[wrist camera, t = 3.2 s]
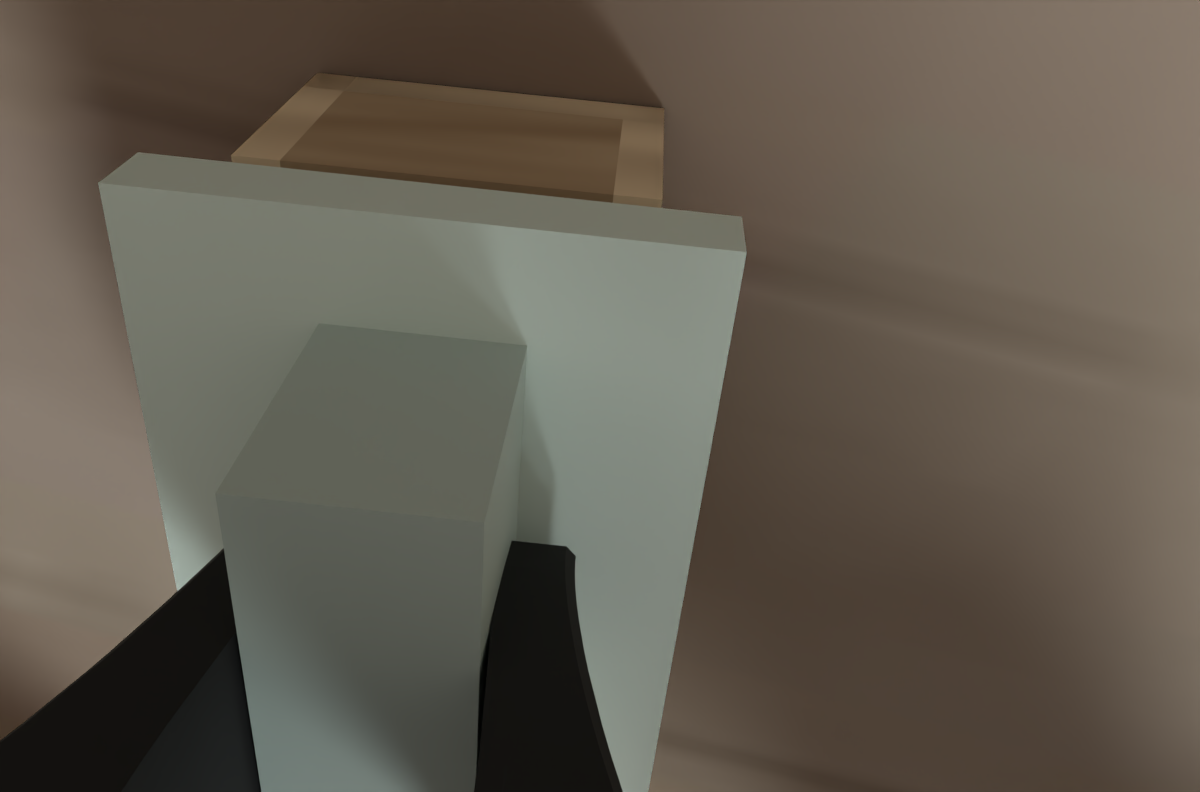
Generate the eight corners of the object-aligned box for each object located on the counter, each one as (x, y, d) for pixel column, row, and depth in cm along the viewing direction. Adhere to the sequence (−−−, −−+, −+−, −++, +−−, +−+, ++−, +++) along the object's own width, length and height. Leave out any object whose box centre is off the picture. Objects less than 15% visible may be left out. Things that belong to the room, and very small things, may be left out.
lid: (137, 152, 10) (-86, 323, 7) (741, 216, 10) (769, 416, 7) (234, 726, 14) (125, 973, 11) (644, 771, 14) (636, 1029, 11)
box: (317, 72, 13) (231, 155, 10) (664, 107, 13) (662, 199, 10) (349, 548, 17) (294, 686, 15) (608, 574, 17) (596, 718, 15)
